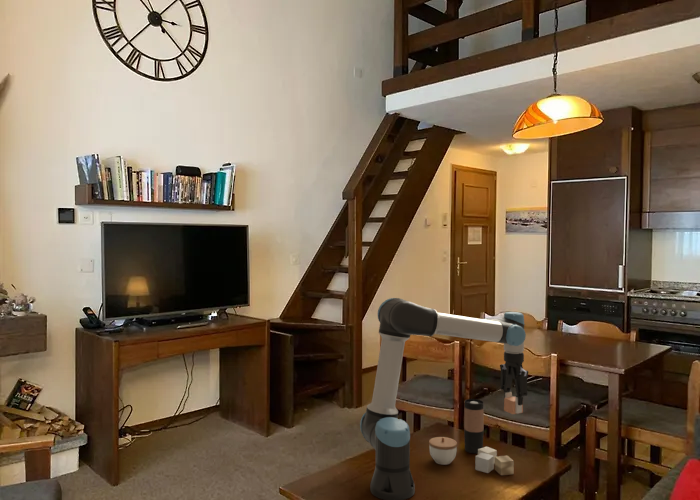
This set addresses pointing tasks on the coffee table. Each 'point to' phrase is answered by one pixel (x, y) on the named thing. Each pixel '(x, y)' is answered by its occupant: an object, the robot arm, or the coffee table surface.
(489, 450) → the cube cream
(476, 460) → the cube grey
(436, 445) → the lidded jar
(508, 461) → the cube maple
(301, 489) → the coffee table surface
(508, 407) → the cube terracotta
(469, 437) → the travel mug
